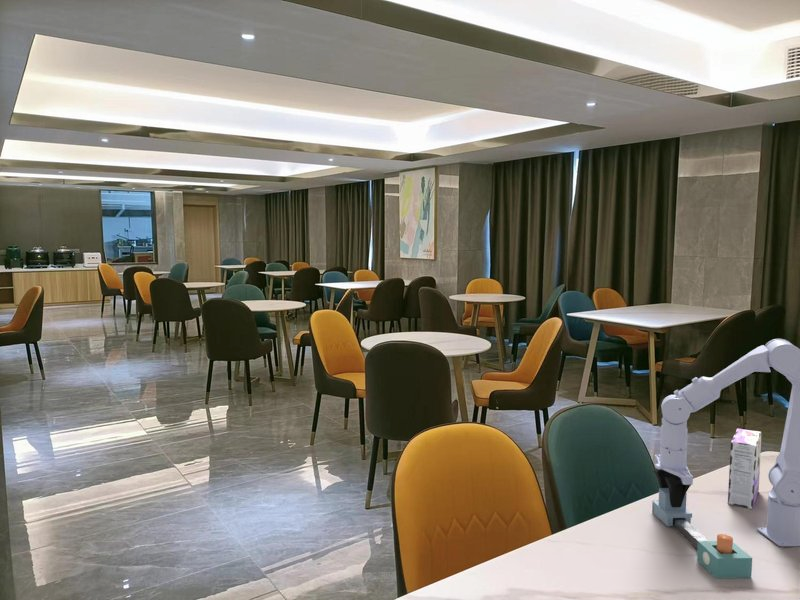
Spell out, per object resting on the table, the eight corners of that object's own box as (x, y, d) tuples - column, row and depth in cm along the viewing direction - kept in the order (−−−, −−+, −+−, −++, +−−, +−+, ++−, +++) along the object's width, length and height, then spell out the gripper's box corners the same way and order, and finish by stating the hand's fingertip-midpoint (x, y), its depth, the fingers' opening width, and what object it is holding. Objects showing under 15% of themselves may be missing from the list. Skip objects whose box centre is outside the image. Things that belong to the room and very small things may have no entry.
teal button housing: (730, 559, 124) (731, 540, 124) (751, 577, 118) (752, 557, 117) (696, 559, 124) (697, 541, 124) (715, 578, 117) (716, 558, 117)
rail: (672, 511, 147) (672, 500, 147) (721, 555, 126) (722, 541, 126) (652, 512, 147) (652, 500, 147) (698, 556, 126) (698, 542, 126)
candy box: (734, 486, 163) (737, 427, 162) (759, 491, 160) (762, 431, 158) (726, 504, 152) (729, 440, 150) (753, 510, 148) (757, 444, 147)
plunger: (726, 552, 122) (727, 533, 122) (735, 560, 119) (735, 540, 119) (713, 553, 122) (714, 534, 122) (721, 560, 119) (722, 540, 119)
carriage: (676, 512, 146) (677, 484, 145) (691, 526, 139) (692, 496, 138) (652, 513, 146) (653, 485, 145) (666, 526, 139) (667, 496, 138)
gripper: (643, 437, 148) (641, 490, 149) (671, 457, 134) (669, 516, 135) (671, 437, 149) (669, 490, 150) (703, 457, 134) (700, 516, 135)
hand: (671, 502), depth 142 cm, fingers open, 3 cm apart
